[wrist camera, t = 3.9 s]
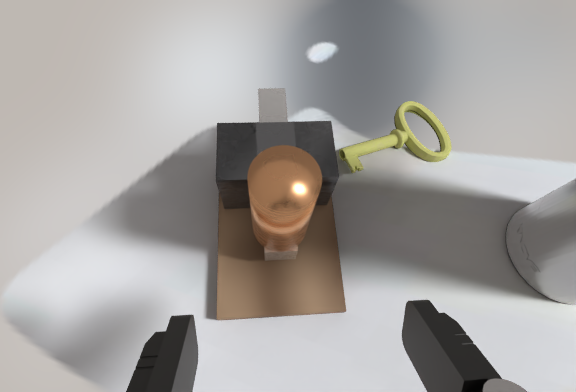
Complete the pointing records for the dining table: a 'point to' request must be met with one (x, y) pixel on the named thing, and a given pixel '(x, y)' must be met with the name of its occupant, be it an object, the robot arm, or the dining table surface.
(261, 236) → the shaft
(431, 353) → the robot arm
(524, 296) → the dining table surface
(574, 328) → the dining table surface
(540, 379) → the dining table surface
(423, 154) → the key
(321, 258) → the base board
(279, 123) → the block
